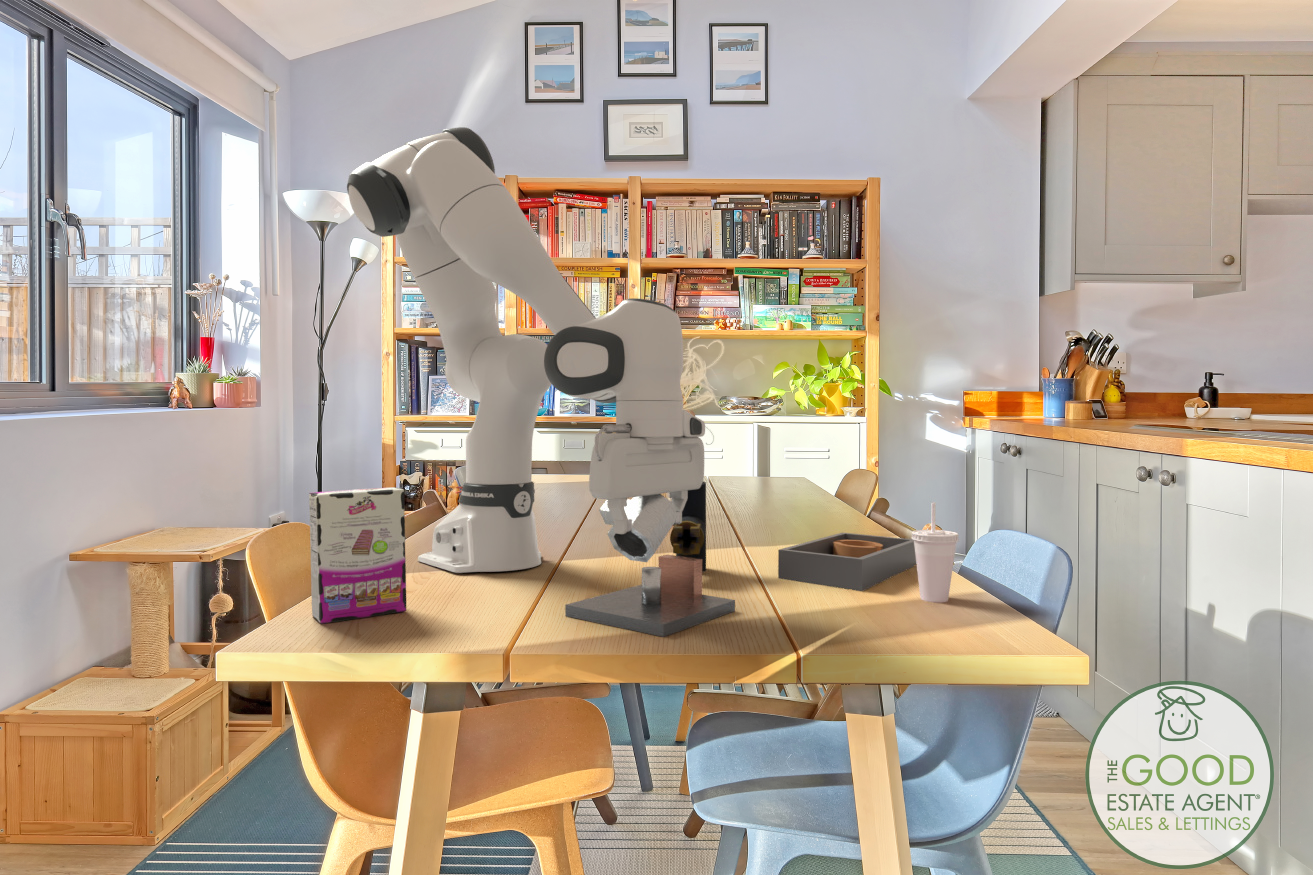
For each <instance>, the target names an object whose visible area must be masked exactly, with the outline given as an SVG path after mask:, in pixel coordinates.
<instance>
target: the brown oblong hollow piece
mask: <svg viewBox="0 0 1313 875" xmlns="http://www.w3.org/2000/svg"><path fill="white" fill-rule="evenodd" d="M880 550H883V545H882V544H880V543H876V542H871V541H863V540H836V542H835V541H834V542H833V555H839V556H847V557H856V558H860V557H862V556H865V555H868V554H871V553H874V552H877V551H880Z"/></svg>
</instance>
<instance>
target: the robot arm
mask: <svg viewBox="0 0 1313 875" xmlns="http://www.w3.org/2000/svg"><path fill="white" fill-rule="evenodd" d="M346 191H347V195H348V197H349V198H348V199H349V203H350V206H351V209H352V210H353V212H354V215H355V216H356V218H357V219H358V220H359V222H361V223H362V225H363V226H364V227H365V228H366V229H367V230H368V231H369V233H372V234H375V235H376V236H379V237H382V238H383V237H384V238H385V237H392V236H396V238H397V242H398V245H399V248H400V250H401V253H402V256H403V259H404V260H405V263H406V264H407V266H408V269H409V271H410V273H411V275H412V277H413V278H414V281H415V283H416V285H417V286H418V289H419V291H420V292H421V295H422V296H423V298H424V301H425V302H426V305H427V306H428V308H429V310H430V312H431V315H432V316H433V319H434V320H435V323H436V325H437V328H438V331H439V335H440V340H441V342H442V346H443V350H444V354H445V358H446V362H445V367H444V374H445V378H446V381H447V384H448V385H449V387H450V388H451V389H452V390H453V392H455V394H458V395H459V396H461V397H463V398H466V399H468V400H471V401H474V402H478V408H477V411H476V415H475V418H474V419H475V420H474V422H473V424H472V426H471V428H470V429H469V431H468V433H467V435H466V438H465V482H464V483H463V484H462V486H455V489H458V490H459V489H460V490H459V491H455V494H460V495H459V499H458V503H459V504H458V505H457V506H456V507H455V508H454V509H453V510H452V511H450V513H449V514H448V515H447V516H446V517H445V518H443V519H442V520H441V521H440V522H439V523H438V524H436V526H435V527H434V529H433V534H432V546H431V548H432V549H431V550H432V551H428V552H425V553H422V554H420V555H418V557H417V562H420V563H423V564H426V565H430V566H432V567H437V568H439V569H442V570H446V571H449V572H452V573H457V574H459V573H461V574H463V573H478V572H480V573H483V572H484V573H485V572H486V573H487V572H490V573H491V572H495V573H496V572H509V571H510V572H511V571H518V570H519V571H520V570H526V569H530V568H534V567H537V566H539V565H541V564H542V552H541V551H540V550H539V545H538V536H537V524H536V515H535V513H534V510H533V504H534V502H535V493H536V490H535V483H534V481H532V473H533V472H532V467H533V466H532V465H533V461H532V459H533V456H532V455H533V436H534V430H535V426H536V425H535V424H536V421H537V417H538V413H539V410H540V407H541V403H542V400H543V398H544V396H545V394H546V392H548V390H549V388H551V386H553V387H554V388H555V389H556V390H557V391H558V392H561V393H562V394H565V395H567V396H570V397H573V398H578V399H582V400H583V399H584V400H593V401H594V402H598V403H602V404H614V403H615V417H616V418H615V424H612V423H608V424H603V425H602V427H601V428H600V429H599V430H598V432H596V433H595V435H594V444H593V447H592V451H591V458H590V463H589V475H588V476H589V477H588V478H589V479H588V491H589V493H590V494H591V497H592V498H593V499H599V500H607V507H608V509H609V511H610V513H611V515H612V517H613V519H614V532H615V533H616V534H626V533H630V532H631V531H632V527H631V526H632V519H628V518H627V515H626V512H625V509H624V507H627V499H628V498H633V497H638V496H646V495H654V494H661V495H663V494H669V498H670V499H671V500H670V501H671V502H672V503H673V506H674V508H675V511H676V513H677V516H678V518H677V520H676V521H675V523H674V524H673V526H674V525H678V524H681V523H682V511H683V509H684V506H685V504H686V501H687V499H688V490H695V489H699V488H700V487H701V484H702V482H703V481H704V480H705V446H704V442H703V440H702V439H701V437H704V436H705V434H706V424H705V422H704V420H702V419H701V418H698V417H697V416H695V415H693V414H692V413H691V412H689V411H688V410H686V409H684V397H683V393H682V388H681V380H682V375H683V370H684V344H683V343H684V339H683V330H682V325H681V324H682V323H681V319H680V316H679V315H678V313H677V312H676V311H675V309H674V308H672V307H671V306H669V305H668V304H666V303H663V302H659V301H656V300H650V299H644V298H638V297H637V298H636V297H635V298H627V299H626V298H625V299H624V300H622V301H620V303H619V304H617V306H616V307H613V309H611V310H610V311H608V312H606V313H605V314H602V315H600V316H599V317H596V316H595V315H594V314H593V313H592V311H591V310H590V309H589V307H588V306H587V305H586V304H585V303H584V301H583V300H582V299H581V297H580V296H579V295H578V293H577V292H576V291H575V290H574V289H573V288H572V286H571V285H570V284H569V282H567V280H566V278H565V277H563V275H562V273H561V272H560V271H559V269H558V267H557V266H556V265H555V263H554V262H553V260H552V258H551V256H550V255H549V254H548V252H547V251H546V249H545V247H544V245H543V244H542V242H541V241H540V239H539V237H538V235H537V234H536V231H535V230H534V229H533V227H532V225H531V223H530V222H529V219H527V217H526V215H525V214H524V212H523V210H522V209H521V208H520V206H519V204H518V202H517V201H516V200H515V198H514V197H513V196H512V194H511V193H510V191H509V190H508V189H507V188H506V186H505V185H504V183H503V182H502V181H501V180H500V179H499V177H498V176H497V175H496V169H495V163H494V160H493V157H492V154H491V152H490V150H489V147H488V146H487V144H486V143H485V141H484V140H483V139H482V138H481V136H480V135H479V134H477V132H475V131H474V130H472V129H471V128H469V127H459V126H458V127H452V128H446V129H443V130H442V131H441V132H440V133H435V134H432V135H428V136H424V137H422V138H421V137H420V138H418V139H415V140H412V141H409V142H407V143H405V144H403V146H401V147H398V148H395V149H394V150H392V151H389V152H388V153H385V154H383V155H382V156H380V157H379V158H377V159H375V160H373V161H372V162H368V161H367V162H365V163H363V164H361V165H360V166H359V167H357V168H356V169H354V170H353V171H352V172H351V173H350V174H349V176H348V180H347V184H346ZM495 285H498V286H500V287H502V288H504V289H506V290H507V291H509V292H511V293H512V294H514V295H516V296H517V297H519V298H520V299H521V300H523V301H524V302H525V303H527V305H528V306H529V307H530V308H532V309H533V311H534V312H535V313H536V314H537V315H538V316H539V318H540V319H541V321H543V324H545V326H547V328H548V329H549V330H550V332H551V333H552V334H553V337H552V338H550V341H549V342H548V344H547V343H546V342H545V341H543V340H542V339H539V338H536V337H534V336H533V337H532V336H530V335H525V334H519V333H511V334H507V335H503V334H502V333H501V330H500V328H499V326H500V325H499V323H498V318H497V313H496V303H497V300H498V294H497V289H496V287H495Z"/></svg>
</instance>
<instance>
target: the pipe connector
mask: <svg viewBox="0 0 1313 875" xmlns="http://www.w3.org/2000/svg"><path fill="white" fill-rule="evenodd" d="M670 531H671V532H670V534H669V535H670V536H669V541H670V545H671V546H672V553H673V554H675V556H682V557H689V558H697V559H702V573H704V572H706V571H707V482H705V481H704V480H703V482H702V484H701V487H700V488H699V489H695V490H688V499H687V501H686V504H685V506H684V509H683V511H682V523H681V524H678V525H673V526H672V530H670Z"/></svg>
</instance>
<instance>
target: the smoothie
mask: <svg viewBox="0 0 1313 875" xmlns="http://www.w3.org/2000/svg"><path fill="white" fill-rule="evenodd" d="M930 505H931V513H930V515H931V520H930V523H931V524H930V526H931V527H930V529H917V530H913V531H912V532H911V539H913V540H914V546H915V555H916V564H917V565H916V571H917V581H918V589H919V596H920V600H922V601H924V602H928V603H945V602H948V601H949V596H950V590H951V582H952V577H953V576H952V575H953V568H954V563H955V562H954V560H955V554H956V548H957V543H958V542H960V539H959V533H958V532H955V531H949V530H942V529H936V505H937V504H936V502H931V504H930Z"/></svg>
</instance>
